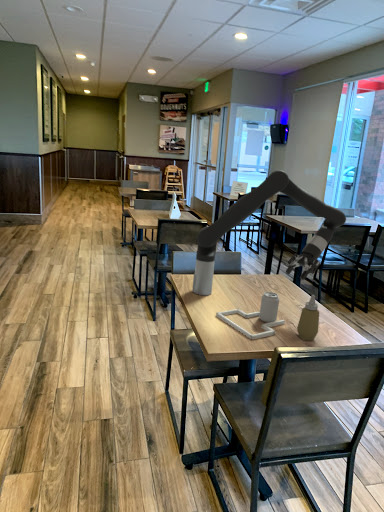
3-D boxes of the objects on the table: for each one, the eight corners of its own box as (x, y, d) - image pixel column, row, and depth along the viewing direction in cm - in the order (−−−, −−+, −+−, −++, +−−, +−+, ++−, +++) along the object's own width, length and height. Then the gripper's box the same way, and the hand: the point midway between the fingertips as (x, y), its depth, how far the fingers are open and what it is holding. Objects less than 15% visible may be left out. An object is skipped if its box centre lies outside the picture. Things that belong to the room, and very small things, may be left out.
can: (279, 320, 168) (283, 294, 165) (270, 325, 163) (274, 298, 160) (264, 314, 173) (268, 289, 170) (255, 319, 168) (258, 293, 165)
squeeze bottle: (313, 344, 148) (321, 301, 144) (293, 338, 152) (299, 295, 148) (319, 337, 155) (326, 295, 151) (299, 331, 159) (305, 290, 155)
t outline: (256, 308, 180) (257, 305, 180) (294, 329, 160) (295, 326, 160) (216, 315, 168) (216, 312, 168) (251, 339, 148) (252, 336, 148)
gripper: (299, 239, 177) (278, 267, 174) (323, 246, 165) (302, 275, 162) (306, 249, 181) (286, 276, 178) (331, 256, 169) (310, 285, 166)
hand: (293, 276), depth 170 cm, fingers open, 8 cm apart
